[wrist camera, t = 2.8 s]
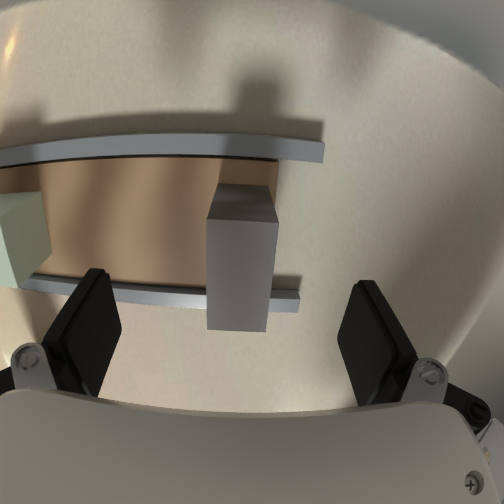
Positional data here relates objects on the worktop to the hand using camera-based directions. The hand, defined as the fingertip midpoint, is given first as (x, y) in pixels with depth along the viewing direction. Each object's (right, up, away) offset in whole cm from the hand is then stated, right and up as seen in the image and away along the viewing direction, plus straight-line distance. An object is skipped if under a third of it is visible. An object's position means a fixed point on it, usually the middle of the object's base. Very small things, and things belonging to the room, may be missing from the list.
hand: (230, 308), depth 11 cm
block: (-17, +4, +7) cm, 19 cm away
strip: (-10, +4, +8) cm, 13 cm away
